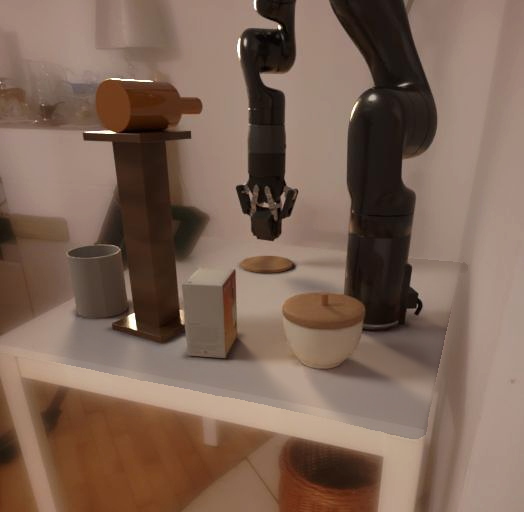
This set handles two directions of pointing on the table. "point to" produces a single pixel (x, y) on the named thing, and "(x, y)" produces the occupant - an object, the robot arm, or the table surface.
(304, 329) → the trinket box
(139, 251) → the stand
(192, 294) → the small box
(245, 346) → the table surface
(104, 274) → the cup
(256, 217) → the dark grey block
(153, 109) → the bottle
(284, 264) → the mat
